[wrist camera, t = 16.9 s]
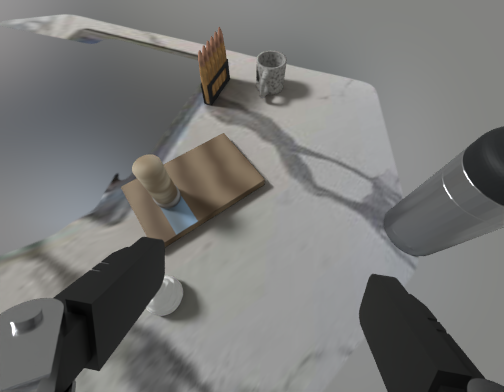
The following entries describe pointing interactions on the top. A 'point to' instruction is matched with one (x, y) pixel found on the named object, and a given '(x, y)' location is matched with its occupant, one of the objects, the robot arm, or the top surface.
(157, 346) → the top surface
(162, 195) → the wooden post on base
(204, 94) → the ammunition clip
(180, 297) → the white meringue
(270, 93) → the mug
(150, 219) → the cutting board
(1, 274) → the top surface
